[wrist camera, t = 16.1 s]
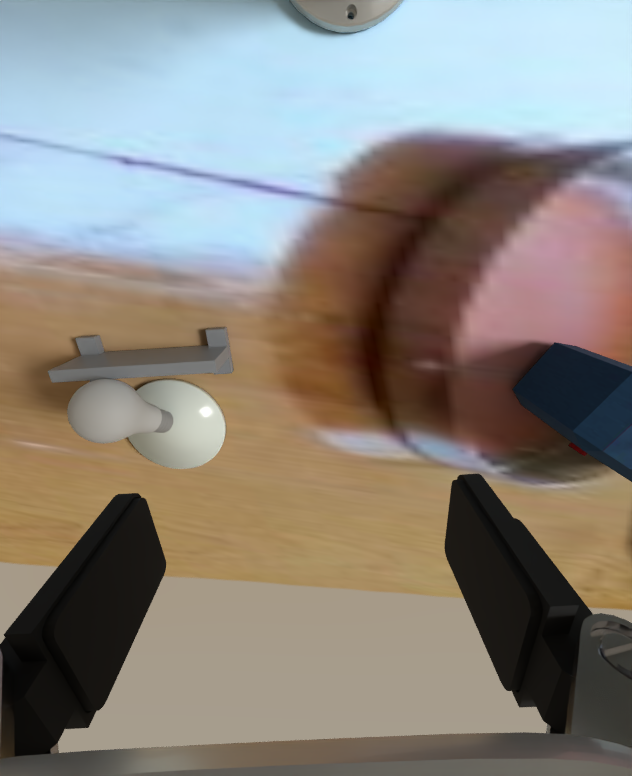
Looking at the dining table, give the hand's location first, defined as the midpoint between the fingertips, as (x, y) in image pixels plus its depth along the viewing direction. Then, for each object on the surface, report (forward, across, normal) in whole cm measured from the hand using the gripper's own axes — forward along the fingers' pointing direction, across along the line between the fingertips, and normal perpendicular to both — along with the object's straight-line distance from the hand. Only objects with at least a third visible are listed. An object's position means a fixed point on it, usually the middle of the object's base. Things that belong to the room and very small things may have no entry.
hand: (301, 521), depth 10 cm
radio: (+29, -33, +12) cm, 45 cm away
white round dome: (+28, +17, +11) cm, 35 cm away
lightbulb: (+27, +17, +10) cm, 33 cm away
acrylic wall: (+28, +17, +2) cm, 33 cm away
